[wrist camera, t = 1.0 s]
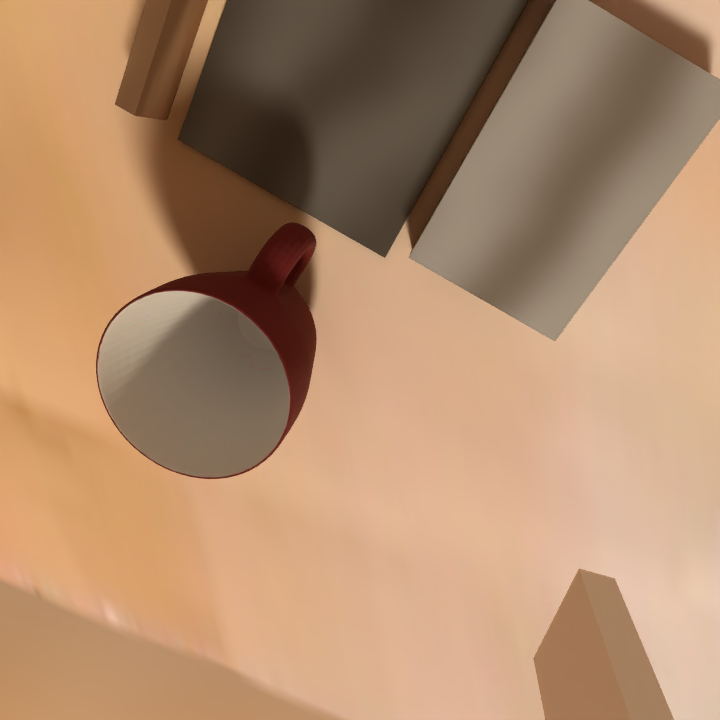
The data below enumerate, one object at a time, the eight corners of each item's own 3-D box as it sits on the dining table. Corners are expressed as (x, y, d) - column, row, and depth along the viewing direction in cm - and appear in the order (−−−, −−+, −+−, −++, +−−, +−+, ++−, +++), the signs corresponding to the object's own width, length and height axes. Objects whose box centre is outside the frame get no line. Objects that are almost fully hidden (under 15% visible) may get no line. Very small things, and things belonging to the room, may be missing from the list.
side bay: (145, 119, 27) (111, 115, 25) (259, -225, 22) (232, -281, 19) (534, 341, 28) (544, 361, 25) (735, 63, 23) (775, 50, 20)
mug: (240, 176, 28) (134, 183, 18) (383, 241, 28) (350, 281, 18) (186, 351, 32) (77, 430, 22) (311, 408, 32) (254, 510, 22)
